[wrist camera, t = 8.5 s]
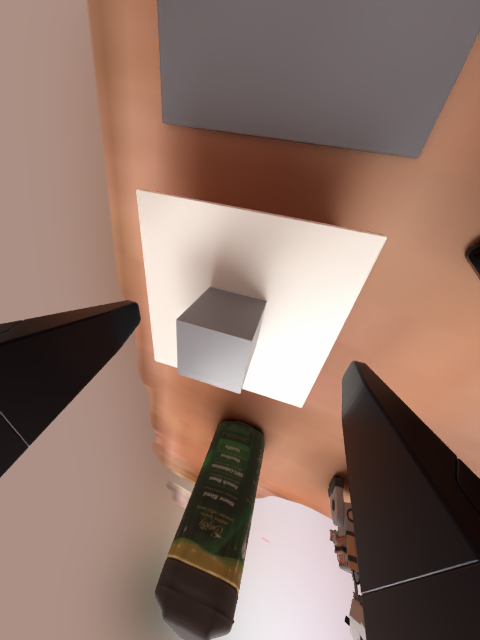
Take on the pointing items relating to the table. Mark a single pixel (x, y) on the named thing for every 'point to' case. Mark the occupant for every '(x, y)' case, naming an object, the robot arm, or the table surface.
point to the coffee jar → (213, 537)
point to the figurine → (346, 552)
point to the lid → (248, 292)
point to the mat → (314, 68)
